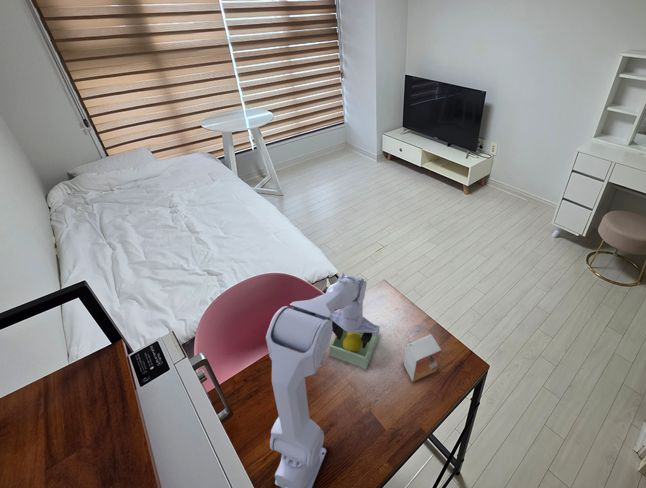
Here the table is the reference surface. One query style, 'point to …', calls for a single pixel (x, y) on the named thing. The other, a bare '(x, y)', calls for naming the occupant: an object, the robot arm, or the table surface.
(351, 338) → the lemon
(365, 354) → the green square open tray
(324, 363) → the table surface
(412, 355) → the white toy house
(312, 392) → the table surface
